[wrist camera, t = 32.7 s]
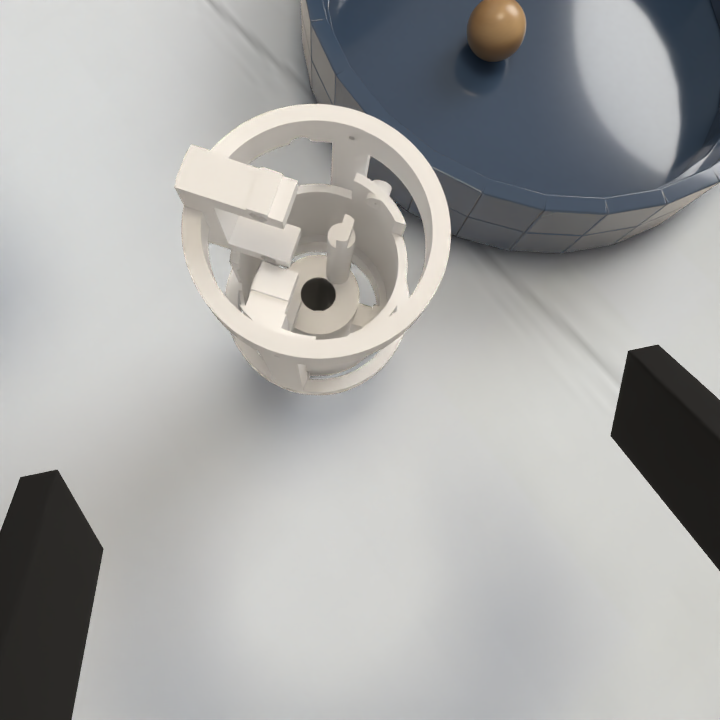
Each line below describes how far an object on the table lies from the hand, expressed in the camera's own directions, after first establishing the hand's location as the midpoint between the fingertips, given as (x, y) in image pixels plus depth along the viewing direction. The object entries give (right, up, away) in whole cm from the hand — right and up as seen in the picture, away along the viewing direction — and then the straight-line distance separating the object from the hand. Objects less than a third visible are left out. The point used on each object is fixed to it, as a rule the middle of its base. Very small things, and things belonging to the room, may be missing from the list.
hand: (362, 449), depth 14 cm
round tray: (+9, +20, +19) cm, 29 cm away
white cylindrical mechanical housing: (-2, +3, +15) cm, 16 cm away
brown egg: (+7, +19, +16) cm, 26 cm away
